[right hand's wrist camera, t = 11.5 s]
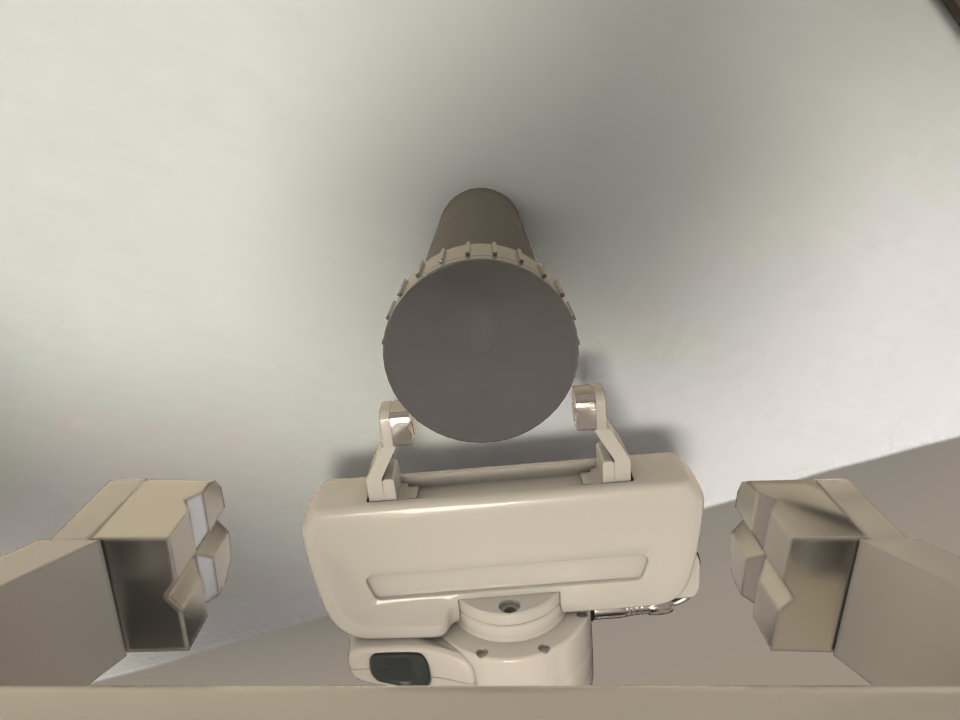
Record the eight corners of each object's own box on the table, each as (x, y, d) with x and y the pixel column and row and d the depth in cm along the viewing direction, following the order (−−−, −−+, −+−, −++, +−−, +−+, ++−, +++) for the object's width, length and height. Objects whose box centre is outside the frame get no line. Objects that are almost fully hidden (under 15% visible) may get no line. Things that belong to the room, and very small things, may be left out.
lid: (351, 317, 19) (337, 340, 17) (495, 200, 18) (497, 211, 16) (467, 444, 20) (466, 479, 19) (607, 343, 19) (621, 369, 17)
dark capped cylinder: (423, 223, 35) (365, 338, 18) (486, 170, 34) (493, 235, 17) (474, 285, 36) (469, 451, 19) (537, 235, 36) (594, 361, 18)
